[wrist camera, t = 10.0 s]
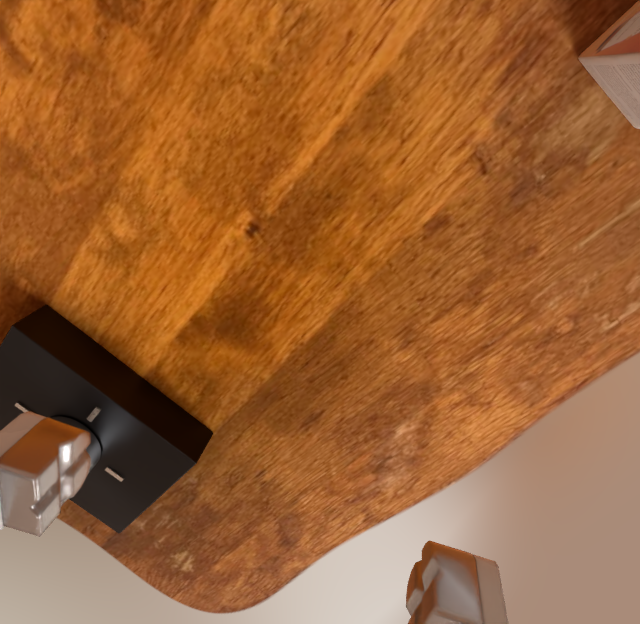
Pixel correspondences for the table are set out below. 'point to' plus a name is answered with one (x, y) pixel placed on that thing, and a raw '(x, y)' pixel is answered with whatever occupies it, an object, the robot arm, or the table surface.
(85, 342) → the panel
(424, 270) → the table surface
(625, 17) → the small box
